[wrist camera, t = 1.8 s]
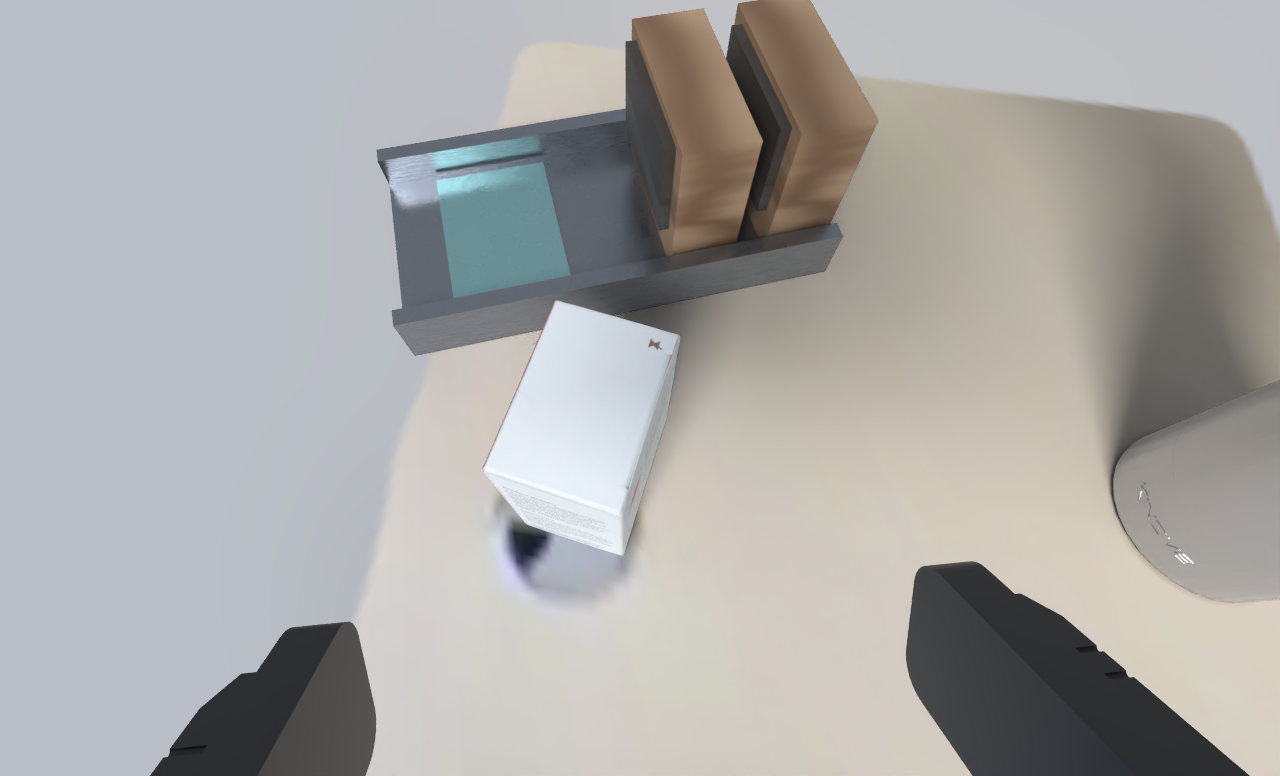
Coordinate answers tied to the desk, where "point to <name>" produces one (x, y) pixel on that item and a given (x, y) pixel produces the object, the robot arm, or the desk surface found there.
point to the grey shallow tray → (551, 234)
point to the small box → (585, 425)
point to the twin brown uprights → (742, 122)
